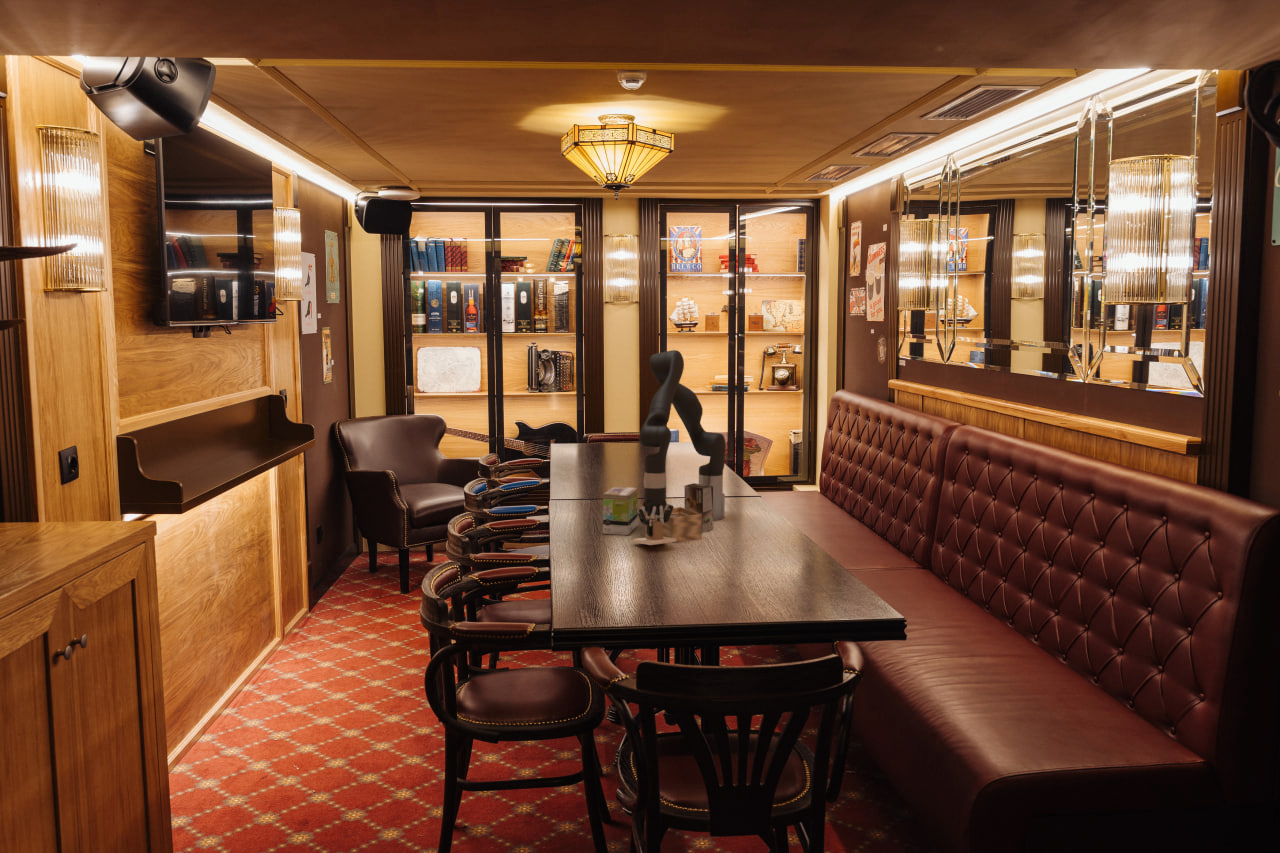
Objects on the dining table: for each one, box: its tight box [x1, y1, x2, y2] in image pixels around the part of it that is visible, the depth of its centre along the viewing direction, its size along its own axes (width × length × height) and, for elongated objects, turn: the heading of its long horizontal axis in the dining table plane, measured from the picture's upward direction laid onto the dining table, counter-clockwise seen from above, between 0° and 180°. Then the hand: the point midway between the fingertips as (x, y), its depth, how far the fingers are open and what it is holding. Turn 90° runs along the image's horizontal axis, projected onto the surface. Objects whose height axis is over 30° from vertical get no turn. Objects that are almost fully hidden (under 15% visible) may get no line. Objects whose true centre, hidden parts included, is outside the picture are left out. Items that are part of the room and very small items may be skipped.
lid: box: [632, 520, 678, 546], centre depth 297 cm, size 10×12×7 cm
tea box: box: [602, 486, 639, 536], centre depth 321 cm, size 15×10×15 cm, turn 168°
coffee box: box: [683, 482, 714, 533], centre depth 323 cm, size 9×6×16 cm
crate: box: [653, 506, 703, 544], centre depth 312 cm, size 12×14×9 cm
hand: (654, 535), depth 297 cm, fingers closed on lid, 3 cm apart
